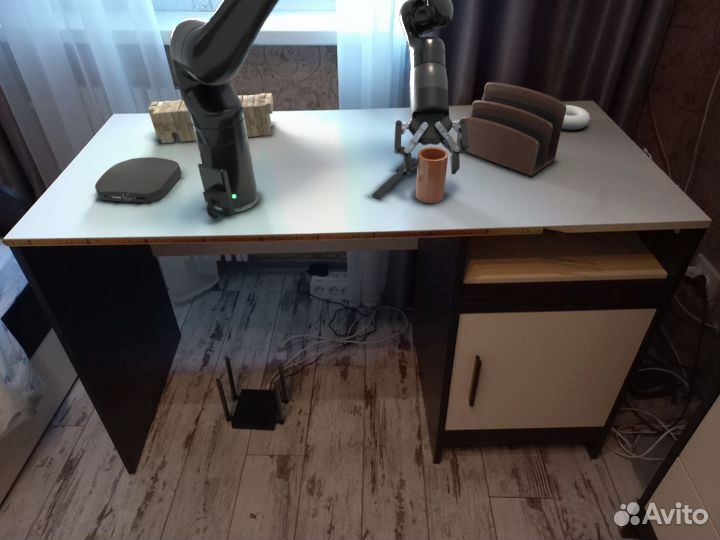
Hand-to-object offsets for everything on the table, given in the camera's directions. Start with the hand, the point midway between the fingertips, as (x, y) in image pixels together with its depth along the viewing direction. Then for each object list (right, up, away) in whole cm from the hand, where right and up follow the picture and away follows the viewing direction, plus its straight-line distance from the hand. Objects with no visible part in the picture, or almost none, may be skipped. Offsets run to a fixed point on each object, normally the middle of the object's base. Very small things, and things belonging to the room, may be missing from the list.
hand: (432, 173), depth 98 cm
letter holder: (+19, +7, +17) cm, 26 cm away
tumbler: (0, -4, +4) cm, 5 cm away
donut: (+38, +18, +29) cm, 51 cm away
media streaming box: (-60, -1, +10) cm, 61 cm away
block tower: (-50, +15, +29) cm, 60 cm away
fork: (-6, +1, +9) cm, 11 cm away
